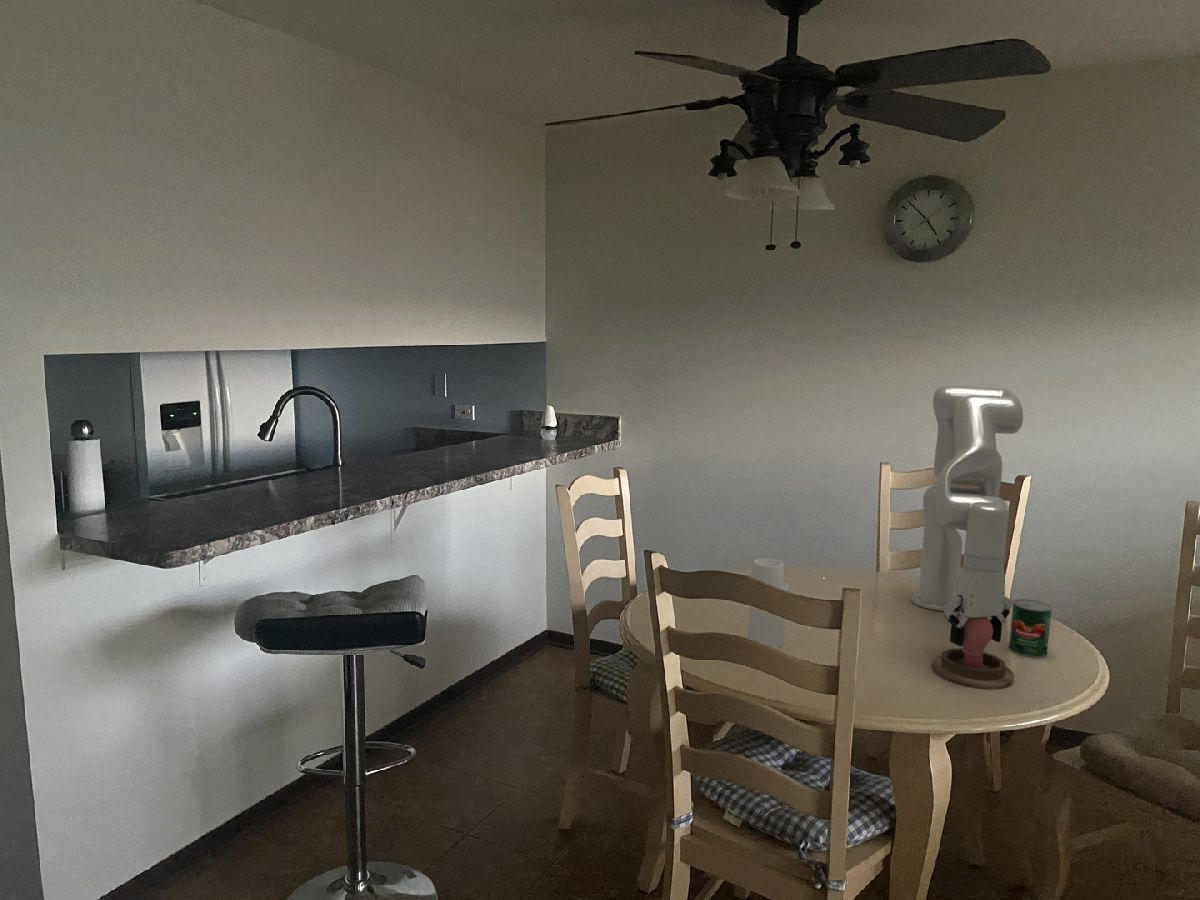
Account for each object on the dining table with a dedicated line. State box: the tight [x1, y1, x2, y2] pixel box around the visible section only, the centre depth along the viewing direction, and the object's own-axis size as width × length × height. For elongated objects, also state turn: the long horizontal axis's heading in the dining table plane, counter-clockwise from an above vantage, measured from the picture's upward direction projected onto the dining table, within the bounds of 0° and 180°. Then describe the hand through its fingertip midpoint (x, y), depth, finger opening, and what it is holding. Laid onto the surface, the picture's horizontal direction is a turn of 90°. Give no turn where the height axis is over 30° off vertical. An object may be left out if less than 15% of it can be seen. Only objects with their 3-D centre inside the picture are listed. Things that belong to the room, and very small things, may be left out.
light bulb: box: [958, 616, 993, 668], centre depth 183 cm, size 7×7×12 cm
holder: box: [930, 647, 1015, 690], centre depth 183 cm, size 16×16×3 cm
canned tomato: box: [1008, 598, 1053, 659], centre depth 196 cm, size 8×8×11 cm
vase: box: [747, 558, 789, 650], centre depth 193 cm, size 11×7×20 cm, turn 155°
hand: (975, 641), depth 183 cm, fingers open, 9 cm apart
